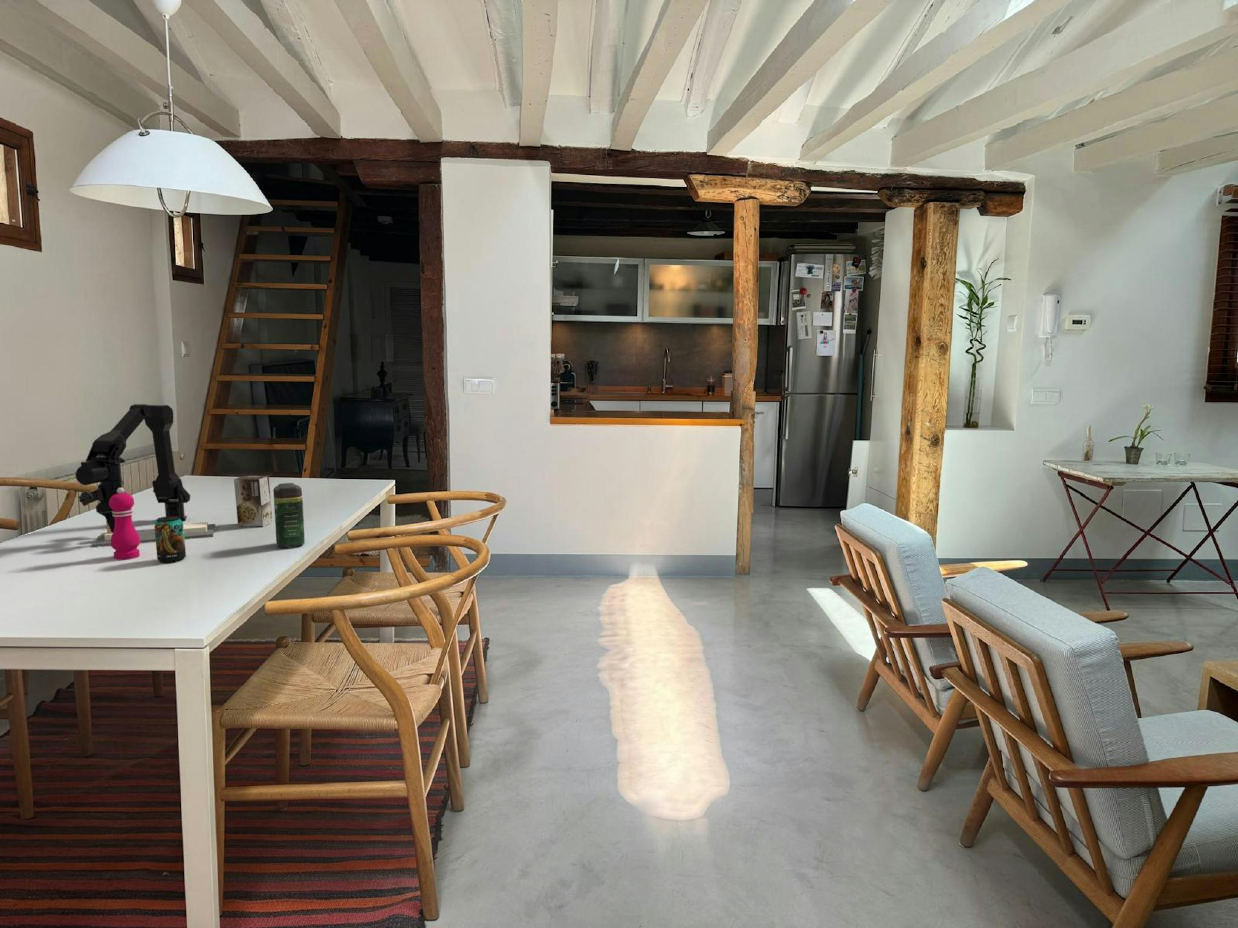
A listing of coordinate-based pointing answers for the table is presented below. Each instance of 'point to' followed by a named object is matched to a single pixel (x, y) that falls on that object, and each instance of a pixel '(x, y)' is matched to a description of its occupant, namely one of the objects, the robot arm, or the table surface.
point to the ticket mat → (149, 534)
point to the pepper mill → (124, 527)
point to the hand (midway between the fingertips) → (115, 529)
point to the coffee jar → (289, 515)
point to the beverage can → (170, 539)
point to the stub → (108, 533)
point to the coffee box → (253, 500)
